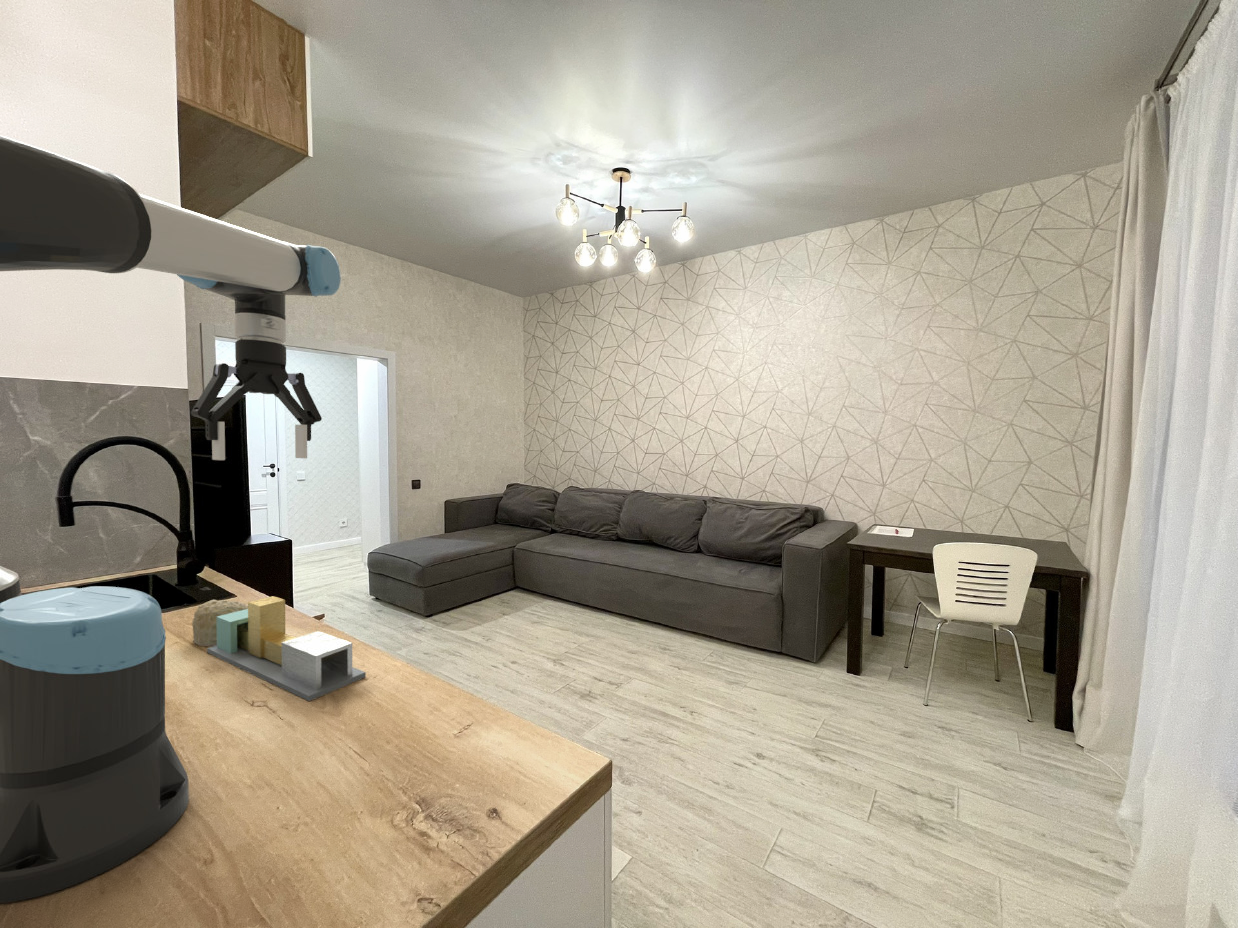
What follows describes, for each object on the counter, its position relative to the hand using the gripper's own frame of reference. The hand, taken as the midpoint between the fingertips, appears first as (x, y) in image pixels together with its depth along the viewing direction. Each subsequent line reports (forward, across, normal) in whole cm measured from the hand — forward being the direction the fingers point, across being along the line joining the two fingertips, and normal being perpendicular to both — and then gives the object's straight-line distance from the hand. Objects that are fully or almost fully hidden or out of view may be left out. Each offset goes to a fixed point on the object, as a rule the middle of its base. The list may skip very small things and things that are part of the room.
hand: (262, 459), depth 92 cm
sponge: (+35, -2, +11) cm, 37 cm away
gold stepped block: (+34, -2, -8) cm, 35 cm away
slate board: (+35, -2, -11) cm, 36 cm away
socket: (+35, -2, +2) cm, 35 cm away
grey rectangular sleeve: (+35, -2, -21) cm, 41 cm away
